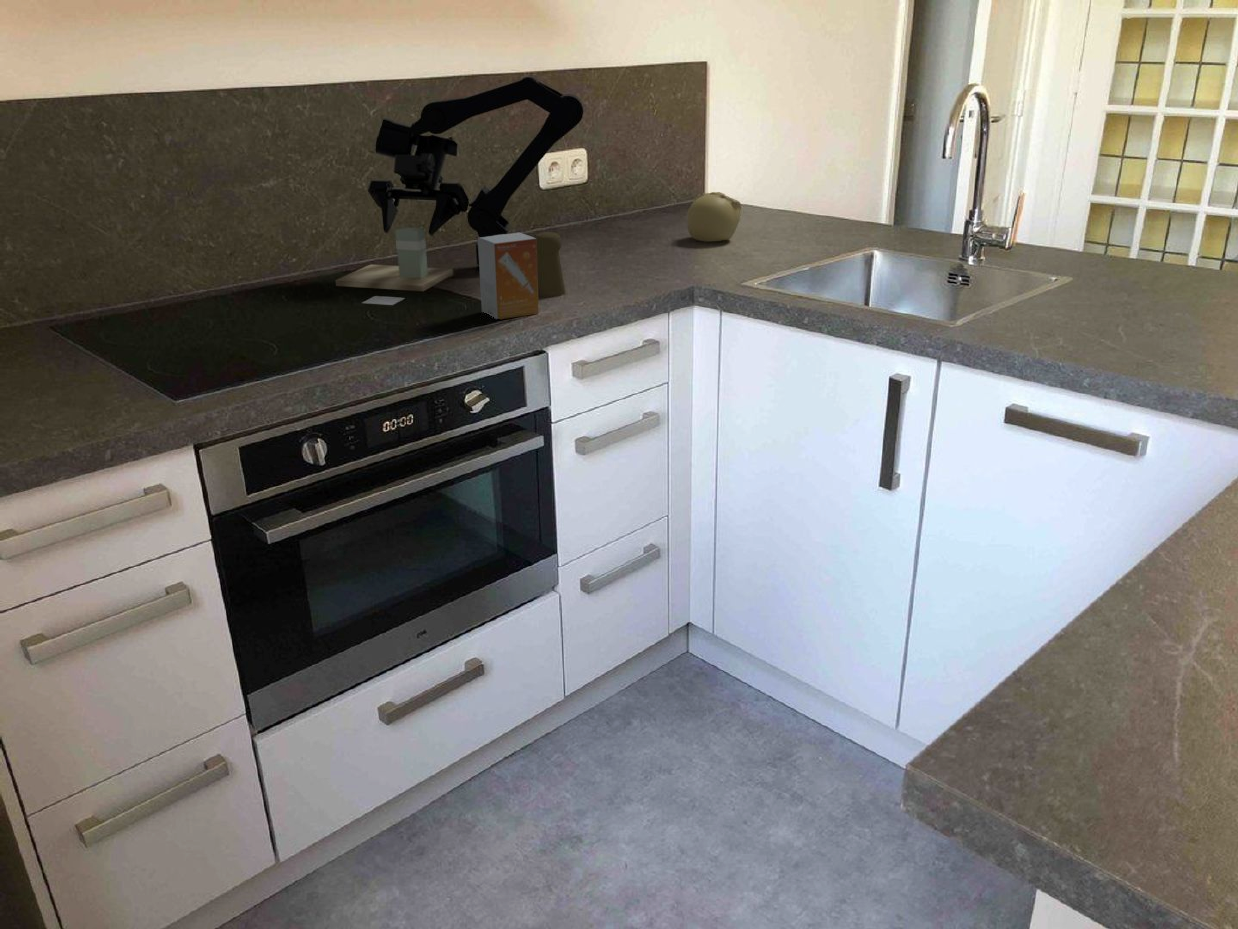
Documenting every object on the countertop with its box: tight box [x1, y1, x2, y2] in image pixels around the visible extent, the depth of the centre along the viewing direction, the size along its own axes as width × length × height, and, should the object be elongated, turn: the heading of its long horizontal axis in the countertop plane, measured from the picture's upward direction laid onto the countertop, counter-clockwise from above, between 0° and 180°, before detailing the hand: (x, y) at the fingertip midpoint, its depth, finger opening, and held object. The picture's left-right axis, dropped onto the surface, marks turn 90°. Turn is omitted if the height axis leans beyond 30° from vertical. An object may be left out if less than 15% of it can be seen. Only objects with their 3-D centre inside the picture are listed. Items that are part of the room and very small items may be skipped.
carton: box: [394, 226, 428, 279], centre depth 189 cm, size 5×3×9 cm
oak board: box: [334, 264, 454, 292], centre depth 192 cm, size 18×14×1 cm
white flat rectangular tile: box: [361, 295, 405, 306], centre depth 178 cm, size 6×5×1 cm
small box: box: [477, 232, 540, 320], centre depth 168 cm, size 8×6×13 cm
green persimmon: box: [685, 191, 742, 243], centre depth 224 cm, size 11×12×11 cm
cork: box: [533, 231, 566, 298], centre depth 181 cm, size 6×6×11 cm
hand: (407, 232), depth 186 cm, fingers open, 9 cm apart
